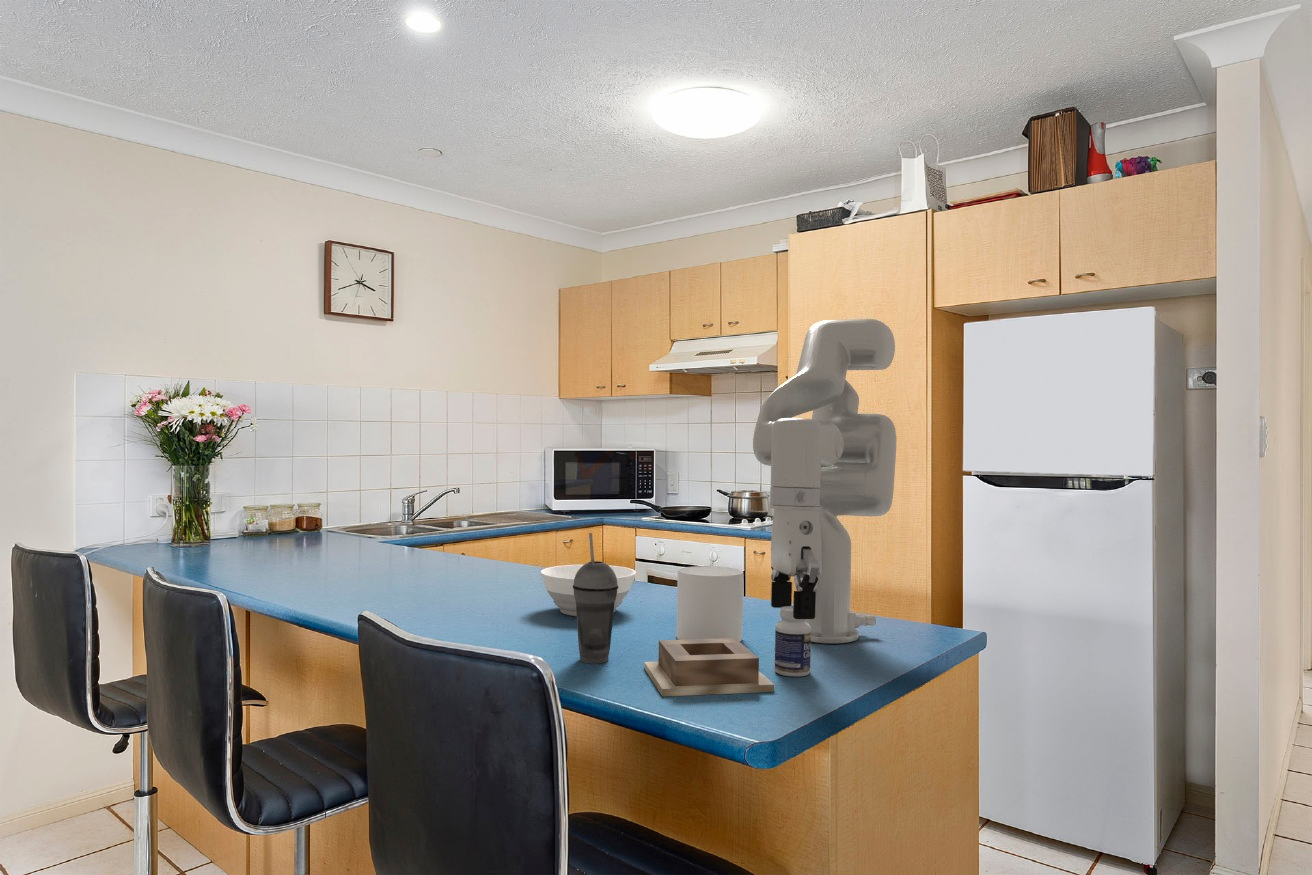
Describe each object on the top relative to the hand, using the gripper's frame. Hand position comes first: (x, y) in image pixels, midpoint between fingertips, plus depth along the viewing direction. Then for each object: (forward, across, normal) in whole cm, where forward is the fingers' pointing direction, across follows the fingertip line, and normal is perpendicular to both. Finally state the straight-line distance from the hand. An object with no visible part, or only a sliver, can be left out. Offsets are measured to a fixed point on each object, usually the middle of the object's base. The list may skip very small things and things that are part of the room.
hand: (792, 612), depth 124 cm
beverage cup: (+10, +12, +28) cm, 32 cm away
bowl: (+8, +49, +25) cm, 56 cm away
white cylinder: (+9, +24, +6) cm, 26 cm away
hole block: (+10, -1, +13) cm, 16 cm away
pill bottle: (+9, +1, -1) cm, 9 cm away
